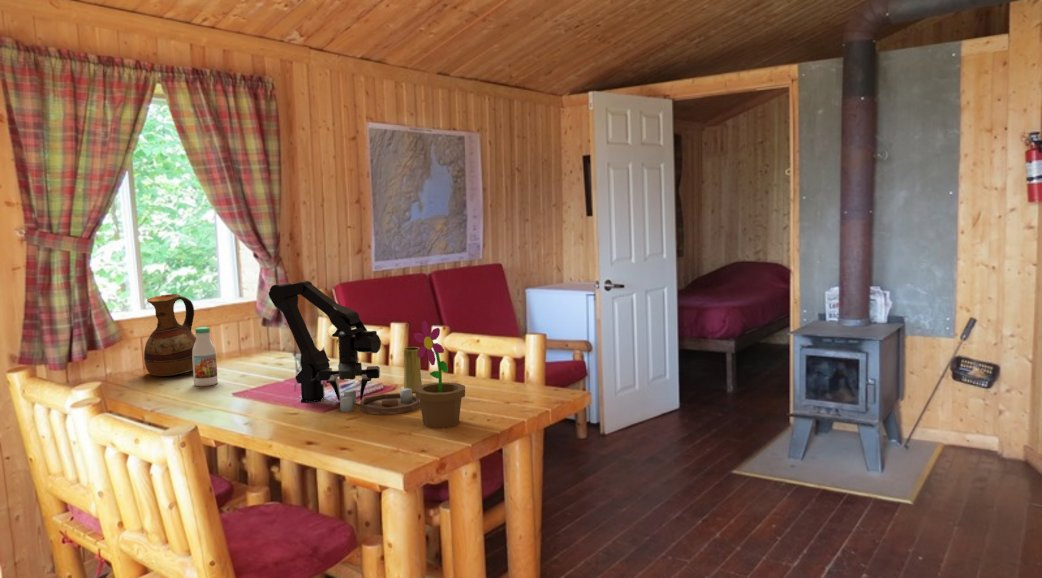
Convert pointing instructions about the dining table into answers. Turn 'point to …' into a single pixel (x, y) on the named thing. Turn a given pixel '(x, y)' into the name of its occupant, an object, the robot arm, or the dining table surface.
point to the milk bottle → (204, 359)
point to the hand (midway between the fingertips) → (350, 400)
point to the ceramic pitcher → (170, 338)
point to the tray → (387, 404)
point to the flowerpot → (437, 387)
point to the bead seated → (406, 395)
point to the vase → (412, 368)
